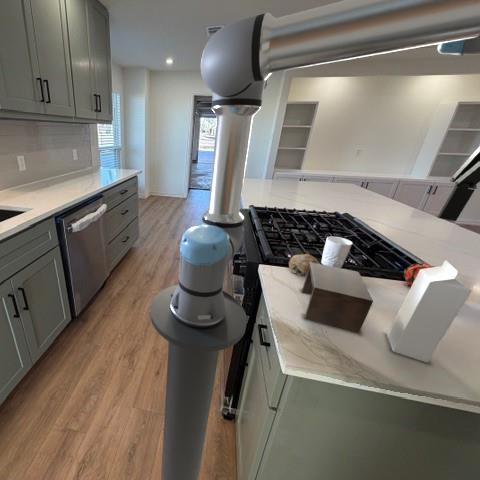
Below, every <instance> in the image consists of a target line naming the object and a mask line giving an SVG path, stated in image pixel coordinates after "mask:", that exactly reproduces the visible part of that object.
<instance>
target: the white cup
mask: <svg viewBox="0 0 480 480" xmlns="http://www.w3.org/2000/svg"><path fill="white" fill-rule="evenodd" d="M352 246H353V241H351V240H349V239H347V238H344V237H339V236H327V237H326V240H325V242H324V246H323V251H322V257H321V259H320V262H321V263H320V264H322V265H327V266H332V267H337V268H342V267H343V266H344V263H345V262H346V259H347V257H348V255H349V254H350V253H349V252H350V250H351V248H352Z"/></svg>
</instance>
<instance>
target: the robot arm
mask: <svg viewBox="0 0 480 480" xmlns="http://www.w3.org/2000/svg"><path fill="white" fill-rule="evenodd" d="M433 45H437V52H438V53H439V54H441V55H456V56H459V57H463V56H464V55H465V56H467V55H468V56H469V55H480V0H341V1H337V2H333V3H329V4H325V5H322V6H317V7H314V8H309V9H305V10H303V11H298V12H295V13H291V14H287V15H283V16H279V17H275V16H273V14H272V13H270V12H265V13H261V14H257V15H253V16H249V17H246V18H242V19H239V20H235V21H234V22H231V23H228V24H226V25H225V26H223V27H221V28H220V29H218V30H217V31H215V32H214V33H213V35H212V36H211V37H210V38H209V39H208V41H207V42H206V45H205V47H204V49H203V51H202V55H201V58H200V59H201V60H200V75H201V77H202V80H203V82H204V84H205V86H206V88H208V90H210V91H211V92H212V98H211V110H212V111H213V113H214V114H215V116H216V124H215V135H214V146H213V155H212V156H213V157H212V167H211V178H210V188H209V198H208V199H209V200H208V209H207V210H205V211H204V212H203V213H202V218H201V224H200V225H198V226H197V225H193V226H192V227H190V228H187V230H185V231H184V232H183V234H182V237H181V242H180V245H179V270H178V282H177V283H178V284H177V285H178V286H177V288H176V290H175V293H174V294H171V297H172V299H171V305H170V310H171V313H172V315H173V317H174V318H175V319H176V320H177V321H178V322H180V323H181V324H183V325H185V326H188V327H191V328H195V329H210V328H214V327H216V326H218V325H220V324H221V323H222V322H223V321H224V319H225V315H226V305H225V300H224V296H223V291H224V290H223V287H224V281H225V273H226V269H227V267H228V265H229V263H230V262H231V261H232V259H233V258H234V257H235V255H236V253H238V252H239V251H240V250H241V248H242V246H243V244H244V241H245V229H244V222H245V216H244V215H243V214H242V212H241V211H240V209H241V203H242V196H243V189H244V182H245V176H246V168H247V161H248V154H249V147H250V140H251V134H252V127H253V121H254V116H255V115H256V114H257V113H258V112H259V111H260V110H261V109H262V105H263V99H264V91H265V90H266V88H267V86H268V84H269V80H270V77H271V75H272V74H273V73H278V72H283V71H290V70H295V69H300V68H306V67H313V66H318V65H323V64H329V63H335V62H341V61H347V60H353V59H357V58H364V57H369V56H375V55H381V54H387V53H388V54H389V53H392V52H398V51H405V50H409V49H416V48H421V47H422V48H423V47H427V46H433ZM449 182H450V183H453V189H452V191H451V193H450V194H449V196H448V198H447V200H446V202H445V203H444V205H443V206H442V208H441V210H440V211H439V214H438V215H437V219H441V220H446V221H452V222H457V220H458V219H459V217H460V215H461V214H462V212H463V211H464V209H465V207H466V205H467V204H468V203H469V201H470V199H471V197H472V196H473V194H474V192H475V190H476V189H477V188H478V186H477V185H478V184H479V183H480V145H479V146H478V147H477V148H476V150H474V152H473V153H472V154H471V155H470V156H469V157H468V158H467V159H466V161H465V162H464V163H463V164H462V165H461V166H460V168H459V169H457V171H456V172H455V173H454V174H453V175H452V176H451V178H449Z"/></svg>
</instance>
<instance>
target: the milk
mask: <svg viewBox="0 0 480 480" xmlns="http://www.w3.org/2000/svg"><path fill="white" fill-rule="evenodd" d="M458 274H459V271H458V269H456V267H454V266H453V265H452V264H451V263H450V262H449V260H446V259H445V260H444V261H443V263H442V265H440V266H439V265H438V266H435V267H432V268H425V269H420V271H419V273H418V275H417V277H416V279H415V280H414V282H413V284H412V286H410V288H409V291H408V292H407V294H406V297H405V298H404V300H403V302H402V305H401V307H399V311H398V312H397V314H396V316H395V318H394V320H393V322H392V324H391V327H390V329H389V330H388V332H387V335H386V336H387V339H388V342H389V345H390V347H391V350H392V352H393V353H396V354H400V355H401V356H405V357H409V358H411V359H414V360H418V361H420V362H424V363H428V362H429V361H430V360H431V357H432V356H433V354H434V353H435V351H436V349H437V348H438V347H439V344H440V343H441V341H442V340H443V338H444V336H445V335H446V334H447V331H449V328H450V327H451V325H452V324H453V322H454V320H455V319H456V317H457V315H458V314H459V312H460V311H461V309H462V308H463V306H464V305H465V303H466V301H467V300H468V298H469V296H470V294H471V293H472V289H470V288H469V287H468V285H466V284H465V282H464V281H462V279H460V278H459V277H458Z"/></svg>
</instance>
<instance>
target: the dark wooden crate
mask: <svg viewBox="0 0 480 480" xmlns="http://www.w3.org/2000/svg"><path fill="white" fill-rule="evenodd" d="M301 293H303V294H307V295H310V296H309V300H308V302H307V307H306V310H305V313H304V320H307V321H311V322H314V323H318V324H321V325H325V326H328V327H333V328H336V329H340V330H344V331H346V332H351V333H353V334H358V335H360V332H361V330H362V328H363V325H364V323H365V321H366V319H367V317H368V314H369V312H370V310H371V308H372V305H373V303H374V299H373V298H372V296H371V293H370V292H369V290H368V288H367V285H366V283H365V282H364V280H363V278H362V276H361V274H360V272H359V271H357V270H352V269H347V268H342V267H341V268H337V267H332V266H327V265H323V264H322V263H320V264H317V263H312V262H310V265H309V268H308V272H307V275H306V276H305V279H304V282H303V285H302V289H301Z"/></svg>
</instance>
